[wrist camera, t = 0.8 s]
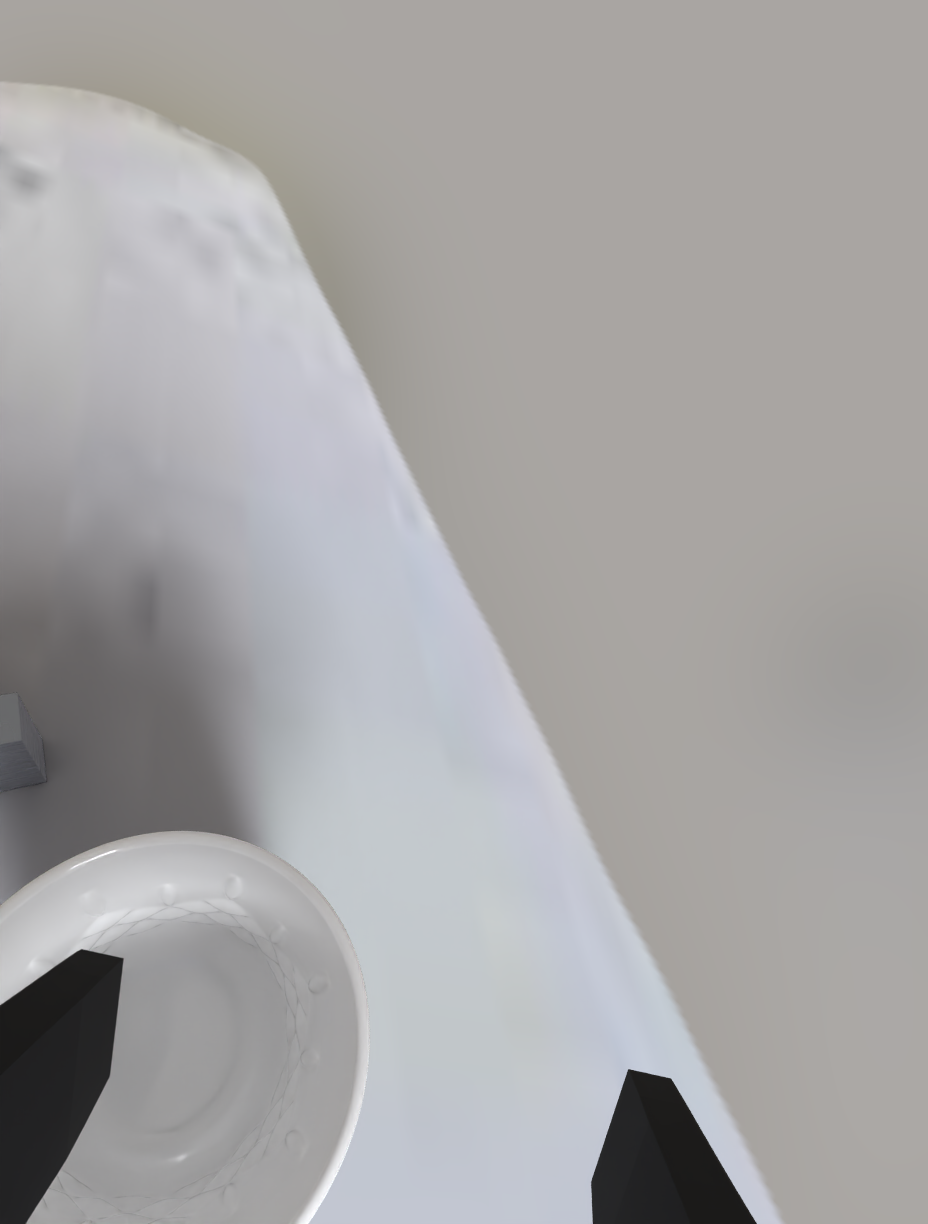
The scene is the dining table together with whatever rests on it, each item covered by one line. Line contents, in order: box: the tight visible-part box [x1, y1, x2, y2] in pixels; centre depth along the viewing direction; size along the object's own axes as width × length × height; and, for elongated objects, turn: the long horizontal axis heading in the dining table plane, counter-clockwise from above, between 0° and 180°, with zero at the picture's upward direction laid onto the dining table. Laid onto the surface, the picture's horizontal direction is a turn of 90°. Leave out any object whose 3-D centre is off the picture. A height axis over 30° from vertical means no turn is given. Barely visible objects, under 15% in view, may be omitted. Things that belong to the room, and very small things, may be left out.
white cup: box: [0, 831, 370, 1224], centre depth 17 cm, size 8×8×10 cm
